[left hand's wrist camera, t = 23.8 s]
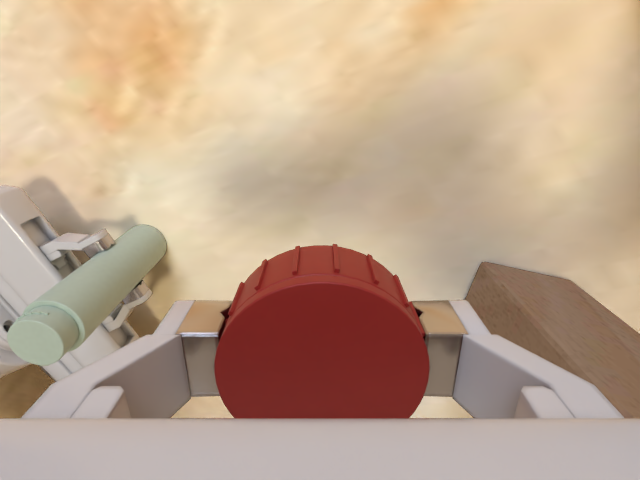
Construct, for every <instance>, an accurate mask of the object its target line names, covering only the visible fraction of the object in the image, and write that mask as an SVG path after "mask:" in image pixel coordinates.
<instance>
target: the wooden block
mask: <svg viewBox="0 0 640 480" xmlns="http://www.w3.org/2000/svg"><path fill="white" fill-rule="evenodd" d="M465 300H466V301H468V302H469V304H470V305H471V306H472V308H473V309H474V311H475V312H476V313H477V315H478V316H479V318H480V319H481V321H482V322H483V323H484V325H485V326H486V328H487V329H488V330H489V332H490V333H491V335H499V336H501V337H503V338H505V339H507V340H509V341H511V342H512V343H514V344H516V345H518V346H520V347H522V348H524V349H526V350H528V351H530V352H532V353H534V354H536V355H538V356H539V357H541V358H543V359H545V360H547V361H549V362H551V363H553V364H555V365H557V366H559V367H561V368H563V369H564V370H566V371H568V372H570V373H572V374H574V375H576V376H578V377H580V378H582V379H584V380H586V381H588V382H589V383H591V384H593V385H595V386H596V387H597V388H598V390H599V391H600V392H601V393H602V394H603V395H604V396H605V397H606V398H607V399H608V400H609V402H610V403H611V404H612V405H613V406H614V407H615V408H616V409H617V410H618V411H619V412H620V414H621V415H622V416H623V417H624V418H640V334H639V333H638V332H636V331H635V330H634V329H633V328H631V327H630V326H629V325H627V324H626V323H625V322H624V321H622V320H621V319H620V318H618V317H617V316H616V315H614V314H613V313H612V312H611V311H609V310H608V309H607V308H605V307H604V306H603V305H602V304H600V303H599V302H598V301H596V300H595V299H594V298H593V297H591V296H590V295H589V294H587V293H586V292H585V291H584V290H582V289H581V288H580V287H578V286H577V285H576V284H575V283H573V282H572V281H571V280H566V279H561V278H557V277H552V276H548V275H543V274H539V273H534V272H529V271H525V270H520V269H516V268H511V267H506V266H502V265H497V264H493V263H488V262H482V263H481V264H480V267H479V269H478V271H477V274H476V276H475V278H474V280H473V283H472V285H471V287H470V290H469V292H468V294H467V297H466V299H465Z"/></svg>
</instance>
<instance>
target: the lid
mask: <svg viewBox="0 0 640 480" xmlns="http://www.w3.org/2000/svg"><path fill="white" fill-rule="evenodd" d="M228 315H229V318H228V319H226V320H225V323H226V326H225V328H224V331H223V333H222V336H221V338H220V341H219V344H218V347H217V350H216V355H215V362H214V373H215V380H216V385H217V388H218V391H219V394H220V396H221V398H222V401H223V403H224V405H225V406H226V407H227V409H228V410H229V412H230V413H231V415H232V416H233V417H234V418H409V417H410V416H411V415H412V414H413V413H414V412H415V410H416V408H417V407H418V405H419V404H420V402H421V400H422V398H423V396H424V394H425V391H426V387H427V384H428V379H429V371H430V365H429V355H428V350H427V346H426V344H425V341H424V339H423V337H424V335H425V332H424V330H423V327H422V325H421V323H420V321H419V317H418V315H417V313H416V310H415V308H414V306H413V304H412V301H411V302H408V299H407V297H406V295H405V292H404V290H403V288H402V285H401V283H400V280H399V278H398V276H397V275H394V276H393V275H392V274H391V273H390V272H389V271H388V270H387V269H386V268H385V267H384V266H382V265H381V264H380V263H378V262H377V261H375V260H374V259H373V258H372V256H371V255H369V254H368V255H367V256H366V255H364V254H362V253H359V252H357V251H354V250H351V249H346V248H342V247H337V244H333V246H308V247H301V248H300V246H296V247H295V249H293V250H289V251H287V252H284V253H282V254H279V255H277V256H275V257H273V258H272V259H270V260H268V261H267V260H266V259H265V260H264V261H263V262H262V265H261V266H260V267H258V268H257V269H256V270H255V271H254V272H253V273H252V274H251V275H250V276H249V278H248V279H247V280H246V281H245V283H243V282H241V283H240V285H239V287H238V290H237V292H236V295H235V297H234V300H233V302H232V305H231V307H230V310H229V312H228Z"/></svg>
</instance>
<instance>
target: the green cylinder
mask: <svg viewBox="0 0 640 480" xmlns="http://www.w3.org/2000/svg"><path fill="white" fill-rule="evenodd" d="M166 248H167V245H166V241H165V238H164V236H163V235H162V234H161V233H160V232H159V231H158V230H157V229H155V228H154V227H152V226H149V225H137V226H134V227H132V228H131V229H130V230H128V231H127V232H126V233H124V234H123V235H122V236H120V237H119V238H118V239H116V240H115V244H114V245H112V246H111V247H110V248H108V249H107V250H105V251H103V252H101V253H98V254H96V255H95V256H94V257H92V258H91V259H90V260H88V261H87V262H86V263H84V264H83V265H82V266H80V267H79V268H78V269H76V270H75V271H74V272H72V273H71V274H70V275H68V276H67V277H66V278H64V279H63V280H62V281H60V282H59V283H58V284H56V285H55V286H53V287H52V288H51V289H49V290H48V291H47V292H45V293H44V294H43V295H41V296H40V297H39V298H37V299H36V300H35V301H33V302H32V303H31V304H29V305H28V306H27V307H26V308H25V310H24V311H23V314H22V316H20V317H19V318H17V319H16V321H15V322H14V323H13V324H12V326H11V327H10V328H9V331H8V334H7V340H8V344H9V346H10V348H11V349H12V351H13V352H14V353H15V354H16V355H17V356H18V357H20V358H21V359H23V360H24V361H26V362H29V363H31V364H35V365H40V366H49V365H50V364H53V363H55V362H57V361H59V360H60V359H61V358H62V357H63V356H64V355H65V354H66V353H67V352H70V351H73V350H75V349H77V348H78V347H79V346H81V345H82V343H83V342H84V341H85V340H86V339H87V338H88V337H89V336H90V335H91V334H92V333H93V332H94V331H95V329H96V328H97V327H98V326H99V325H100V324H101V323H102V322H103V321H104V320H105V319H106V318H107V317H108V315H109V314H110V313H111V312H112V311H113V310H114V309H115V308H116V307H117V306H118V305H119V304H120V302H121V301H122V300H123V299H124V298H125V297H126V296H127V295H128V294H129V293H130V292H131V291H132V290H133V288H134V287H135V286H136V285H137V284H138V283H139V282H140V281H141V280H142V279H143V278H144V277H145V276H146V274H147V273H148V272H149V271H150V270H151V269H152V268H153V267H154V266H155V265H156V264H157V263H158V262H159V260H160V259H161V258H162V257H163V256H164V254H165V252H166Z"/></svg>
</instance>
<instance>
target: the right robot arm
mask: <svg viewBox="0 0 640 480" xmlns="http://www.w3.org/2000/svg"><path fill="white" fill-rule="evenodd" d="M114 244H115V241H114V240H113V239H112V237H111V236H110V234H108V232H107V230H106V229H103V230H101V231H99V232H97V233H95V234H93V235H91V236H90V235H88V234H78V233H65V234H63V235H61V236H59V235H58V233H57V232H56V231H55V230H54V228H53V227H52V226H51V224H50V223H49V222H48V221H47V219H46V218H45V217H44V216H43V214H42V213H41V212H40V211H39V209H38V208H37V207H36V206H35V204H34V203H33V202H32V200H31V199H30V198H29V197H28V195H27V194H26V193H25V192H24V190H23V189H21V188H19V187H15V186H9V185H1V186H0V378H1V377H4V376H6V375H8V374H10V373H12V372H15V371H17V370H19V369H21V368H24V367H26V366H28V365H30V364H31V363H29V362H26V361H24V360H23V359H21V358H20V357H18V356H17V355H16V354H15V353H14V352H13V351H12V349H11V348H10V346H9V344H8V340H7V334H8V331H9V328H10V327H11V326H12V324H13V323H14V322H15V321H16V319H17V318H19V317H20V316H22V314H23V311H24V310H25V308H26V307H27V306H28V305H29V304H31V303H32V302H33V301H35V300H36V299H37V298H39V297H40V296H41V295H43V294H44V293H45V292H47V291H48V290H49V289H51V288H52V287H53V286H55V285H56V284H58V283H59V282H60V281H62V280H63V279H64V278H66V277H67V276H68V275H70V274H71V273H72V272H74V271H75V270H76V269H78V268H79V267H80V266H82V264H81V262H80V261H79V260H78V259H77V257H76V256H75V255H74V253H73V252H72V251H71V250H83V251H84V252H85V253H86V254H87V256H88V257H89V258H91V257H93V256H95V255H96V254H98V253H101V252H103V251H105V250H107V249H108V248H110V247H111V246H112V245H114ZM151 295H152V291H151V290H150V289H149V287H148V286H147V285H146V283H145V282H144V281H143V280H141V281H140V282H139V283H138V284H137V285H136V286H135V287H134V288H133V290H132V291H131V292H130V293H129V294H128V295H127V296H126V297H125V298H124V299H123V300H122V301H123V302H124V303H125V304H124V305H123V304H122V303H120V304H119V305H118V306H117V307H116V308H115V309H114V310H113V311H112V312H111V313H110V314H109V315H108V317H107V318H106V319H105V320H104V321H103V322H102V323H101V324H100V325H99V326H98V327H97V328H96V329H95V331H94V332H93V333H92V334H91V335H90V336H89V337H88V338H87V339H86V340H85V341H84V342H83V343H82V345H81V346H79V347H78V348H77V349H75V350H73V351H70V352H67V353H66V354H65V355H64V356H63V357H62V358H61V359H60V360H59V361H57V362H55V363H53V364H50V365H49V366H40V365H38V366H39V367H40V368H41V369H42V370H43V371H44V372H45V373H46V374H47V375H48V376H49V377H51V378H52V379H53V380H54V381H55V382H57V381H59V380H61V379H63V378H64V377H66V376H68V375H70V374H72V373H74V372H76V371H78V370H80V369H82V368H84V367H86V366H87V365H89V364H91V363H93V362H95V361H97V360H99V359H101V358H103V357H105V356H107V355H108V354H110V353H112V352H114V351H116V350H118V349H120V348H122V347H124V346H126V345H128V344H130V343H131V342H133V341H135V340H137V339H139V338H140V337H139V335H138V334H137V333H136V332H135V330H134V329H133V328H132V327H131V325H130V324H129V323H128V322H127V320H126V319H127V318H128V317H129V316H130V314H131V313H132V311H133V309H134V308H135V306H137V305H140V304H142V303H144V302H145V301H146V300H148V298H149V297H150V296H151Z"/></svg>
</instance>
